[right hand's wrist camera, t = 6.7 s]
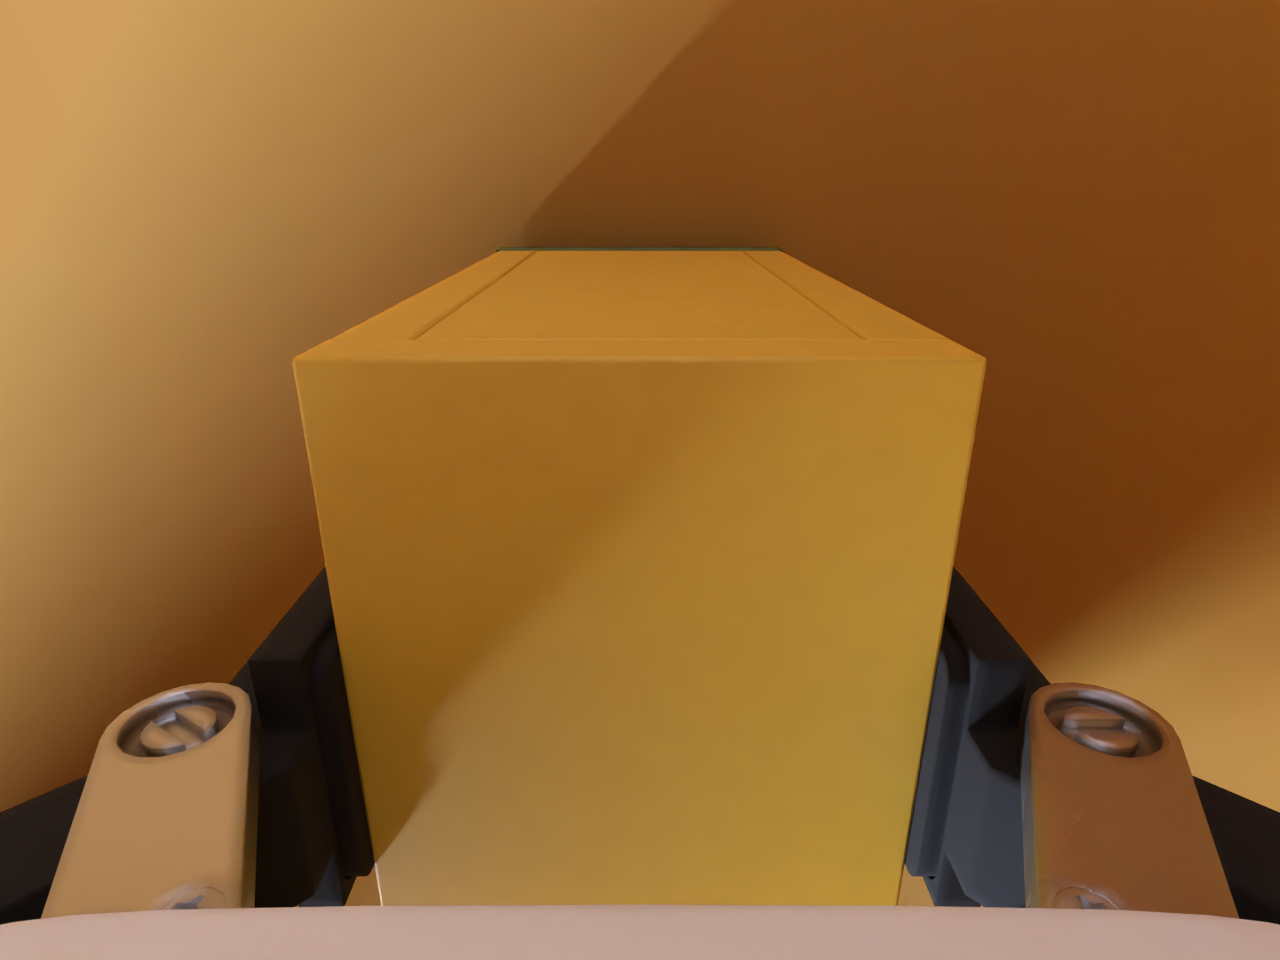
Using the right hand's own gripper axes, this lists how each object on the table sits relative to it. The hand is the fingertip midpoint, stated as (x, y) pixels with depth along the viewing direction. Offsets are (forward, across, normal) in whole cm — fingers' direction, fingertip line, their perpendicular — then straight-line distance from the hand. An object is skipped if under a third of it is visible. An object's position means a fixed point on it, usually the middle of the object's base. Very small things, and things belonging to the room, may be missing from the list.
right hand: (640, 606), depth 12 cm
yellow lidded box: (+8, 0, -4) cm, 9 cm away
